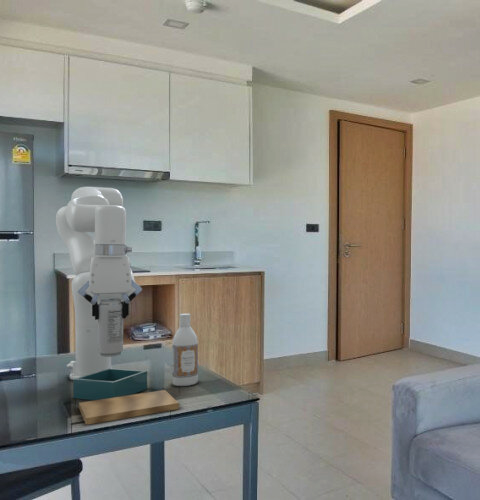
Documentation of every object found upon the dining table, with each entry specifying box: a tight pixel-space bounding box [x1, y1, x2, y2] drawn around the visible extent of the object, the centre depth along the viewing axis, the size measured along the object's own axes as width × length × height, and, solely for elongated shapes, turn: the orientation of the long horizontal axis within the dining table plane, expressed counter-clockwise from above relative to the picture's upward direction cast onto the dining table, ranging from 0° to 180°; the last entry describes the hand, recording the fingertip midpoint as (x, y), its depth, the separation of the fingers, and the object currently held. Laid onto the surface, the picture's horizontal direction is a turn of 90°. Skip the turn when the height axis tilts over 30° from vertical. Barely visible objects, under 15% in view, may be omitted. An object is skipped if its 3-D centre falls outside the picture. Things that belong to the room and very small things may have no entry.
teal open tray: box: [72, 367, 148, 401], centre depth 143 cm, size 13×13×5 cm
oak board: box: [78, 389, 180, 426], centre depth 129 cm, size 20×14×2 cm
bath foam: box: [171, 313, 199, 387], centre depth 153 cm, size 7×7×20 cm
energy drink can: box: [98, 298, 124, 358], centre depth 143 cm, size 6×6×15 cm
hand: (110, 317), depth 143 cm, fingers closed on energy drink can, 6 cm apart
